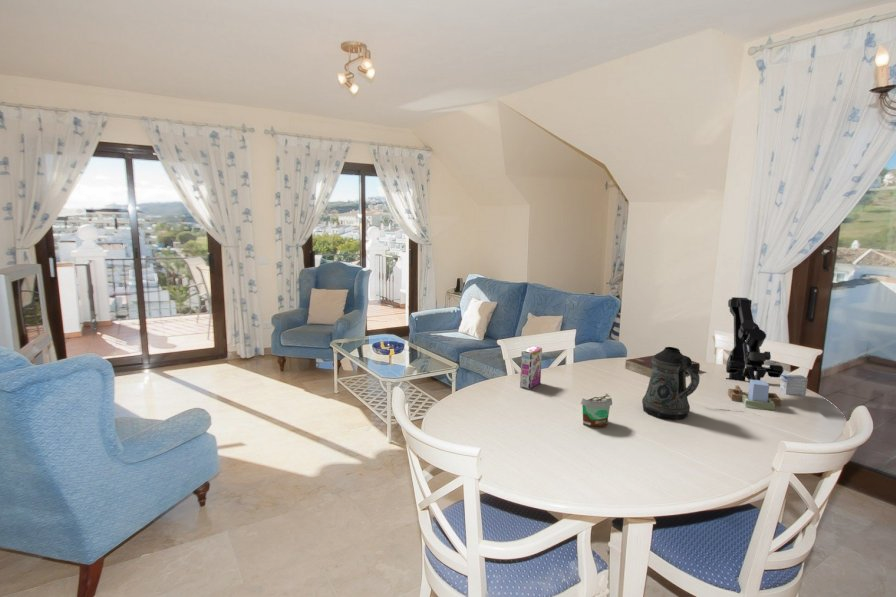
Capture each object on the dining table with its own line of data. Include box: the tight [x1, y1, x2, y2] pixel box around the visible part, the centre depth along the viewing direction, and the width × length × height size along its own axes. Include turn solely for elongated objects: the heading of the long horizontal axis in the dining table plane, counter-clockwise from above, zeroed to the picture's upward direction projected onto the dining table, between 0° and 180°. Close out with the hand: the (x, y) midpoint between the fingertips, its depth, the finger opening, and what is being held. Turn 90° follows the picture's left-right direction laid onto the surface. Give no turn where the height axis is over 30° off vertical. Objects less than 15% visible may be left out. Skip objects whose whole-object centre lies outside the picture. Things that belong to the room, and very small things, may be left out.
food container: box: [580, 393, 613, 429], centre depth 169 cm, size 12×6×10 cm, turn 117°
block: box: [748, 379, 770, 402], centre depth 185 cm, size 6×5×9 cm
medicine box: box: [779, 374, 808, 399], centre depth 199 cm, size 8×4×9 cm, turn 84°
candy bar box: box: [519, 346, 543, 390], centre depth 210 cm, size 11×5×16 cm, turn 144°
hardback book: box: [624, 354, 701, 378], centre depth 234 cm, size 29×19×5 cm, turn 116°
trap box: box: [727, 385, 782, 411], centre depth 190 cm, size 19×16×4 cm
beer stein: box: [641, 346, 701, 421], centre depth 179 cm, size 16×19×25 cm
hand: (756, 388), depth 187 cm, fingers closed, pressing on block
